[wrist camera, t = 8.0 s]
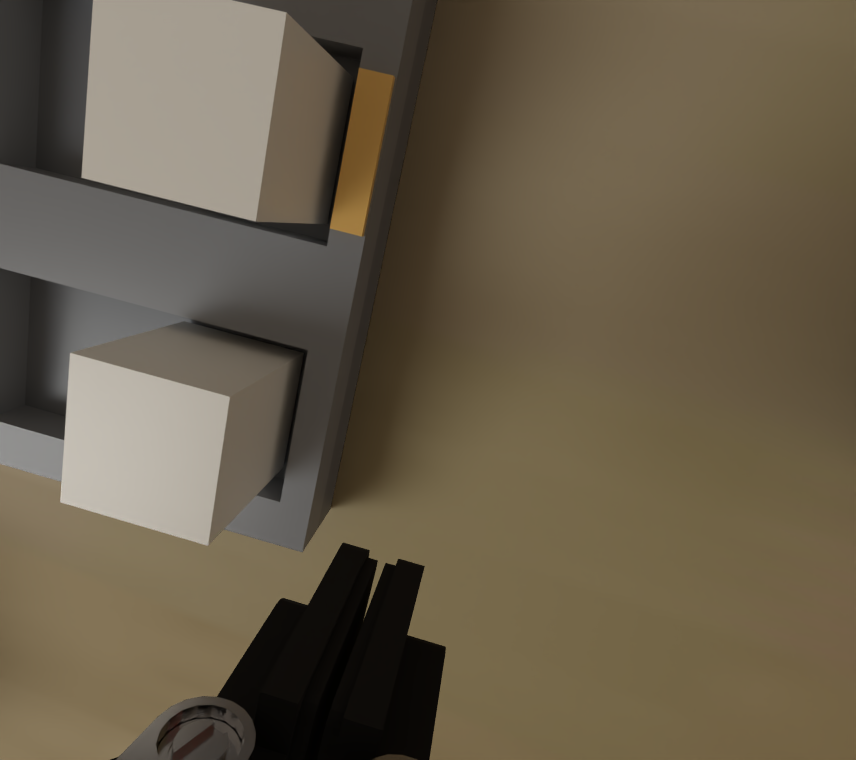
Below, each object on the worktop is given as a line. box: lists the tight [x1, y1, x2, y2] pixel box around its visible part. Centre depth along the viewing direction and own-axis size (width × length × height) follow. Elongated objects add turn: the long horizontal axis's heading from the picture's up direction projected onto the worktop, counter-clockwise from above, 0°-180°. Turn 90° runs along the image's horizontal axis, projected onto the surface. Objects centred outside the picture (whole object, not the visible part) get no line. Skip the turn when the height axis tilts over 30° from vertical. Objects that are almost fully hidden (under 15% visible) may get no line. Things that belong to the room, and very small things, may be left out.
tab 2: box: [60, 321, 304, 546], centre depth 16 cm, size 4×4×5 cm
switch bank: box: [0, 0, 437, 552], centre depth 17 cm, size 24×12×3 cm, turn 167°
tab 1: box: [81, 0, 353, 224], centre depth 14 cm, size 4×4×5 cm
